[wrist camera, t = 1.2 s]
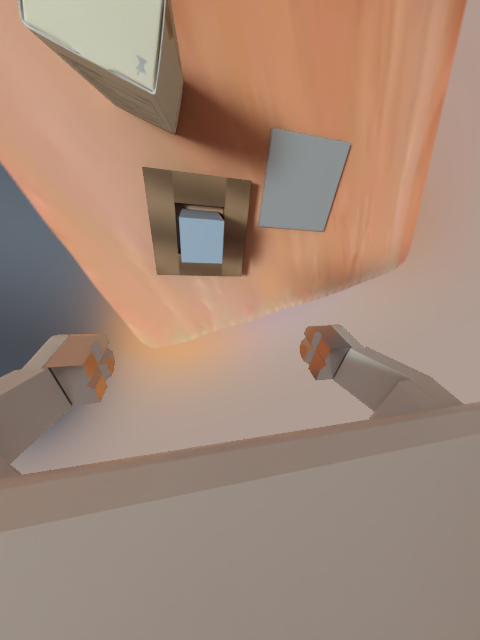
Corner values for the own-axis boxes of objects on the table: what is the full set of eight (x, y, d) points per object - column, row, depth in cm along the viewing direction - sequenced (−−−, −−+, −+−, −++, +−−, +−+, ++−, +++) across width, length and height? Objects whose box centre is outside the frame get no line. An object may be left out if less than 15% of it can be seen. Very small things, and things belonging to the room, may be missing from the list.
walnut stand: (145, 167, 22) (142, 166, 21) (248, 180, 25) (251, 180, 24) (158, 270, 29) (157, 274, 28) (239, 272, 32) (241, 276, 30)
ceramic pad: (271, 129, 23) (273, 128, 22) (347, 143, 25) (350, 142, 24) (258, 225, 28) (259, 226, 28) (321, 230, 30) (323, 231, 30)
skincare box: (184, 80, 19) (176, -21, 10) (175, 136, 21) (161, 100, 12) (108, 34, 17) (-6, -161, 7) (106, 102, 19) (16, 21, 9)
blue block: (181, 208, 25) (178, 217, 20) (217, 211, 26) (224, 220, 21) (183, 245, 28) (181, 262, 22) (216, 247, 29) (222, 263, 23)
